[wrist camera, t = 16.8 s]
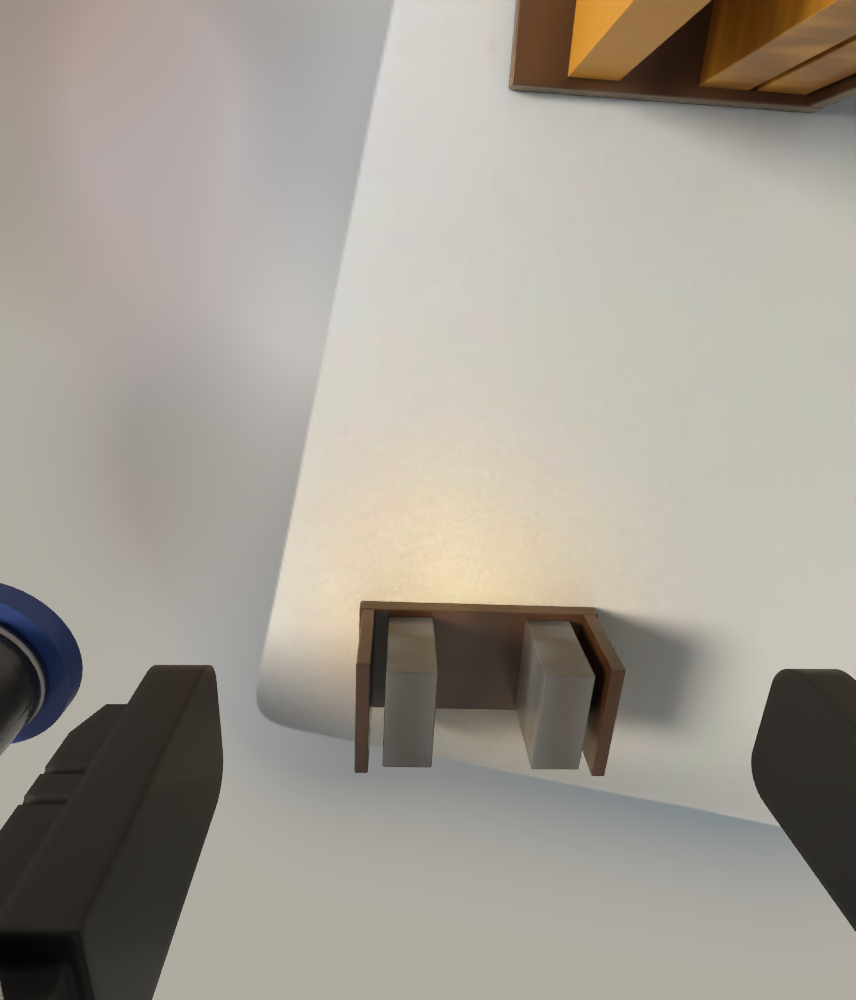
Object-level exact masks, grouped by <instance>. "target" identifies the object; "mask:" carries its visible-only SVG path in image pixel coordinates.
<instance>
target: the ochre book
mask: <svg viewBox="0 0 856 1000" xmlns="http://www.w3.org/2000/svg"><path fill="white" fill-rule="evenodd" d="M710 1H711V0H576V9H575V18H574V26H573V35H572V44H571V53H570V62H569V70H568V77H575V78H588V79H602V80H615V81H619V80H621V79H622V78H623V77H624V76H625V75H626V74H627V73H629V72H630V71H631V70H632V69H633V68H634V67H635V66H637V65H638V64H639V63H640V62H641V61H642V60H643V59H645V58H646V57H647V56H648V55H649V54H650V53H652V52H653V51H654V50H655V49H656V48H657V47H658V46H660V45H661V44H662V43H663V42H664V41H665V40H666V39H668V38H669V37H670V36H671V35H672V34H673V33H675V32H676V31H677V30H678V29H679V28H680V27H681V26H683V25H684V24H685V23H686V22H687V21H688V20H689V19H691V18H692V17H693V16H694V15H695V14H696V13H697V12H699V11H700V10H701V9H702V8H703V7H704V6H706V5H707V4H708V3H709V2H710Z"/></svg>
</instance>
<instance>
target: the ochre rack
mask: <svg viewBox="0 0 856 1000" xmlns="http://www.w3.org/2000/svg"><path fill="white" fill-rule="evenodd" d="M575 9H576V0H516V10H515V21H514V33H513V44H512V56H511V67H510V79H509V89H510V90H518V91H532V92H545V93H558V94H571V95H584V96H598V97H611V98H624V99H637V100H650V101H664V102H677V103H690V104H703V105H716V106H729V107H743V108H756V109H769V110H782V111H795V112H809V113H812V112H815V111H817V110H820V109H822V108H824V107H825V106H828V105H831V104H833V103H836V102H838V101H841V100H844V99H846V98H849V97H851V96H854V95H856V0H711V1H710V2H709V3H708V4H707V5H706V6H704V7H703V8H702V9H701V10H700V11H699V12H697V13H696V14H695V15H694V16H693V17H692V18H691V19H689V20H688V21H687V22H686V23H685V24H684V25H683V26H681V27H680V28H679V29H678V30H677V31H676V32H675V33H673V34H672V35H671V36H670V37H669V38H668V39H666V40H665V41H664V42H663V43H662V44H661V45H660V46H658V47H657V48H656V49H655V50H654V51H653V52H652V53H650V54H649V55H648V56H647V57H646V58H645V59H643V60H642V61H641V62H640V63H639V64H638V65H637V66H635V67H634V68H633V69H632V70H631V71H630V72H629V73H627V74H626V75H625V76H624V77H623V78H622V79H621V80H619V81H615V80H602V79H588V78H575V77H568V70H569V62H570V53H571V44H572V35H573V26H574V18H575Z"/></svg>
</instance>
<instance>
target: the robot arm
mask: <svg viewBox="0 0 856 1000" xmlns="http://www.w3.org/2000/svg"><path fill="white" fill-rule="evenodd" d="M48 691H49V678H48V673H47V669H46V667H45V664H44V662H43V660H42V658H41V656H40V655H39V653H38V652H37V650H36V649H35V648H34V646H33V645H32V644H31V643H30V642H29V641H28V640H27V639H26V638H25V637H24V636H22V635H21V634H20V633H19V632H17V631H16V630H14V629H13V628H11V627H10V626H8V625H6V624H4V623H2V622H0V756H1V754H2V753H3V752H4V751H5V750H6V748H7V747H8V746H9V745H10V744H11V742H12V741H13V740H14V739H15V738H16V736H17V735H18V734H19V733H20V732H21V730H22V729H23V728H24V727H25V726H26V725H27V724H29V723H30V722H31V721H32V720H33V718H34V717H35V716H36V715H37V714H38V712H39V711H40V710H41V708H42V707H43V705H44V703H45V701H46V699H47V696H48ZM751 766H752V774H753V779H754V782H755V786H756V788H757V791H758V793H759V795H760V797H761V799H762V800H763V802H764V803H765V805H766V806H767V807H768V809H769V810H770V812H771V813H772V815H773V816H774V817H775V819H776V820H777V822H778V823H779V824H780V826H781V827H782V829H783V830H784V831H785V833H786V834H787V836H788V837H789V838H790V840H791V841H792V843H793V844H794V845H795V847H796V848H797V850H798V851H799V853H800V854H801V855H802V857H803V858H804V860H805V861H806V862H807V864H808V865H809V867H810V868H811V869H812V871H813V872H814V874H815V875H816V876H817V878H818V879H819V881H820V882H821V883H822V885H823V886H824V888H825V889H826V890H827V892H828V893H829V895H830V896H831V898H832V899H833V900H834V902H835V903H836V904H837V906H838V907H839V909H840V910H841V912H842V913H843V914H844V916H845V917H846V918H847V920H848V921H849V923H850V924H851V926H852V927H853V928H854V930H855V931H856V680H855V679H853V678H852V677H851V676H850V675H848V674H847V673H846V672H843V671H841V670H838V669H784V670H781V671H780V672H778V673H777V674H776V676H775V677H774V679H773V682H772V685H771V688H770V692H769V695H768V699H767V702H766V706H765V709H764V713H763V716H762V720H761V723H760V727H759V730H758V734H757V737H756V741H755V744H754V748H753V752H752V759H751ZM222 772H223V749H222V738H221V726H220V715H219V705H218V692H217V682H216V675H215V671H214V668H213V667H212V666H211V665H154V666H153V667H151V668H150V669H149V670H148V672H147V673H146V675H145V676H144V678H143V680H142V681H141V683H140V685H139V686H138V688H137V689H136V691H135V693H134V694H133V696H132V697H131V699H130V701H129V702H128V704H107V705H105V706H104V707H102V708H101V709H100V710H98V711H97V712H96V713H94V714H93V715H92V716H90V717H89V718H88V719H87V720H85V721H84V722H83V723H81V724H80V725H79V726H78V727H76V728H75V729H74V730H73V731H71V732H70V733H69V734H68V736H67V737H66V738H65V740H64V741H63V743H62V744H61V746H60V747H59V748H58V750H57V751H56V753H55V754H54V755H53V757H52V758H51V760H50V761H49V763H48V764H47V765H46V767H45V773H44V774H40V775H39V777H38V778H37V779H36V781H35V782H34V784H33V785H32V786H31V788H30V789H29V791H28V792H27V794H26V795H25V796H24V802H23V804H22V805H18V806H17V808H16V809H15V810H14V812H13V813H12V815H11V816H10V818H9V819H8V820H7V822H6V823H5V825H4V826H3V828H2V829H1V830H0V1000H152V998H153V995H154V992H155V989H156V986H157V983H158V980H159V977H160V974H161V971H162V967H163V965H164V962H165V959H166V956H167V953H168V950H169V947H170V944H171V940H172V938H173V935H174V932H175V929H176V926H177V923H178V920H179V917H180V914H181V911H182V907H183V904H184V902H185V899H186V896H187V892H188V889H189V886H190V884H191V880H192V877H193V874H194V871H195V868H196V865H197V862H198V859H199V856H200V853H201V850H202V847H203V844H204V841H205V838H206V835H207V832H208V829H209V826H210V823H211V820H212V817H213V814H214V811H215V808H216V805H217V802H218V797H219V793H220V787H221V781H222Z"/></svg>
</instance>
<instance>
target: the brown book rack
mask: <svg viewBox="0 0 856 1000" xmlns="http://www.w3.org/2000/svg"><path fill="white" fill-rule="evenodd" d="M597 616H598V615H597V613H596V611H595V610H594V608H583V607H547V606H511V605H475V604H438V603H402V602H366V601H361V603H360V621H359V645H358V654H357V662H356V715H355V772H356V773H367V772H368V759H369V745H370V731H371V717H372V707H385V713H384V740H383V767H431V765H432V751H433V737H434V724H435V710H436V708H449V709H505V710H516V711H517V715H518V719H519V723H520V727H521V731H522V734H523V738H524V742H525V746H526V750H527V754H528V758H529V762H530V765H531V768H532V769H579V763H580V758H581V752H582V751H583V753H584V756H585V759H586V761H587V764H588V767H589V769H590V772H591V775H592V776H604V774H605V769H606V764H607V759H608V754H609V749H610V744H611V739H612V734H613V729H614V724H615V719H616V714H617V710H618V705H619V700H620V695H621V690H622V685H623V680H624V675H625V668H624V666H623V665H622V663H621V661H620V659H619V657H618V656H617V654H616V652H615V650H614V648H613V647H612V645H611V643H610V641H609V639H608V638H607V636H606V634H605V632H604V630H603V629H602V627H601V625H600V623H599V621H598V620H597Z"/></svg>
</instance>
